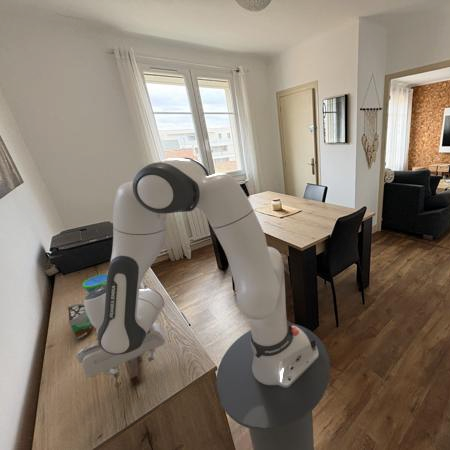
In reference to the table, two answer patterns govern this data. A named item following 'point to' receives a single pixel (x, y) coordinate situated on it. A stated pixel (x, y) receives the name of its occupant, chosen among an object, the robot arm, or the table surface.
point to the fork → (135, 369)
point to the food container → (79, 321)
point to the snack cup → (95, 282)
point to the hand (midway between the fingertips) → (134, 367)
